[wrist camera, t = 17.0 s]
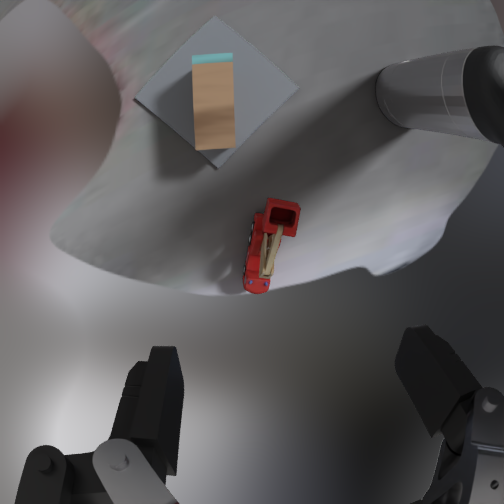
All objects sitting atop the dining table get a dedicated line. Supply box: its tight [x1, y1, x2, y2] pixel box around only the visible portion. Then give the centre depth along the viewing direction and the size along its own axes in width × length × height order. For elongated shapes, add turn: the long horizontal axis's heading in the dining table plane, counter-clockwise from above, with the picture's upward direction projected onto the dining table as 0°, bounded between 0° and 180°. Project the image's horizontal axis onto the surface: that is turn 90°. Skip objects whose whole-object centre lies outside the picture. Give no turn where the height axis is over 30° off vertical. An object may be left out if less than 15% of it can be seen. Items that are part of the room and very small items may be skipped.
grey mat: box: [134, 16, 299, 169], centre depth 32 cm, size 14×14×1 cm
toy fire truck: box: [243, 198, 301, 294], centre depth 36 cm, size 3×14×10 cm, turn 169°
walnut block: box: [192, 53, 236, 150], centre depth 30 cm, size 6×4×10 cm
